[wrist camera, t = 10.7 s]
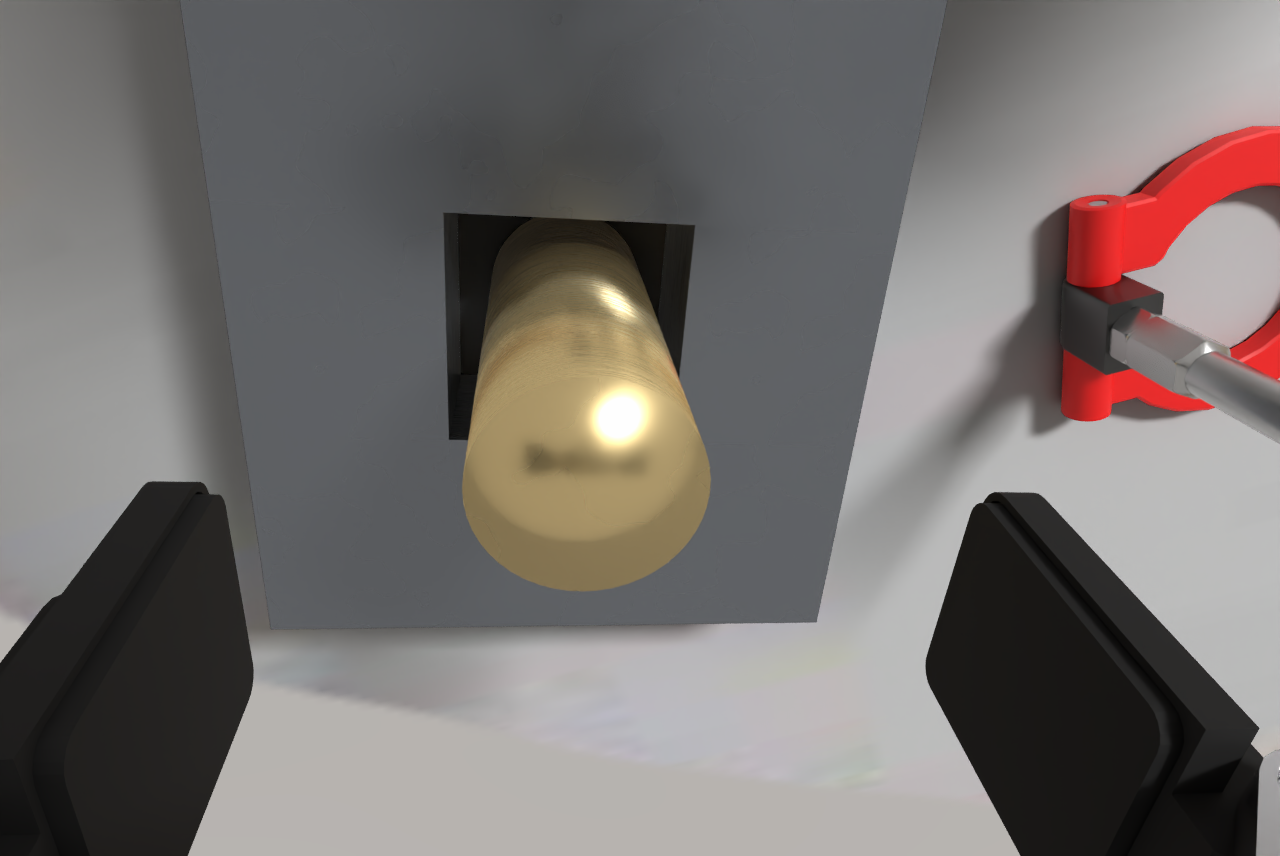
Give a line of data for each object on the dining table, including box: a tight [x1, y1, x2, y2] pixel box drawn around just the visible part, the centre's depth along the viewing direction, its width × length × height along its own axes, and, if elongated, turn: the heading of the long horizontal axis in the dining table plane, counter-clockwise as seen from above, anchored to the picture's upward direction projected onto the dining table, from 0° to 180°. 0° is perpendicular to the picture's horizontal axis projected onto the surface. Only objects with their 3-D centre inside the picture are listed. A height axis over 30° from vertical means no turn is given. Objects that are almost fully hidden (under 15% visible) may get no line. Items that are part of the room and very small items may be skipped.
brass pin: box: [462, 217, 711, 591], centre depth 19 cm, size 4×4×11 cm
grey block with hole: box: [180, 0, 947, 629], centre depth 21 cm, size 21×15×4 cm
